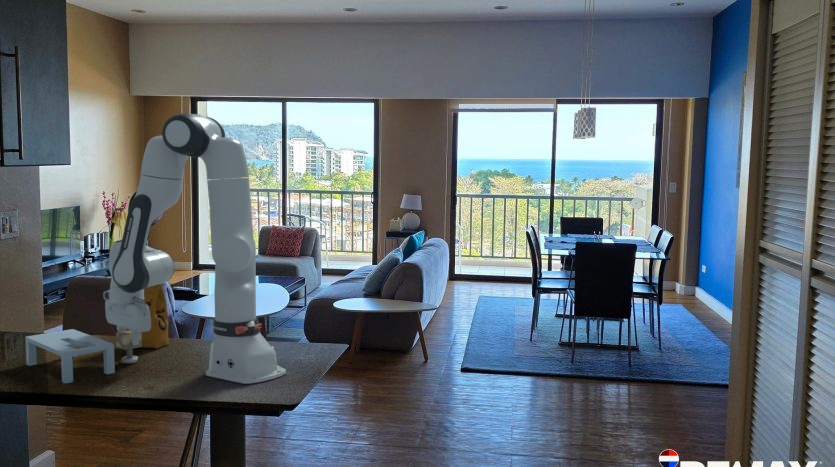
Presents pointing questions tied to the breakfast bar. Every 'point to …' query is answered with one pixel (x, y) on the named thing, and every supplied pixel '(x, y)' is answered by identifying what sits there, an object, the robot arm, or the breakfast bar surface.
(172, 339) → the breakfast bar surface
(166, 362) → the breakfast bar surface
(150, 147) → the robot arm
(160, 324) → the coffee package
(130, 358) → the peg
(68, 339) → the keyhole stand
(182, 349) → the breakfast bar surface
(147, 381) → the breakfast bar surface
